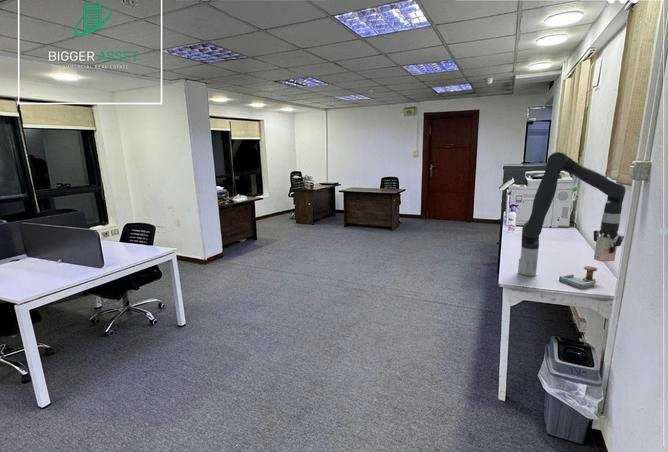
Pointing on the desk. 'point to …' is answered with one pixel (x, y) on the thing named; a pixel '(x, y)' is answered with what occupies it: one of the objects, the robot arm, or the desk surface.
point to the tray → (576, 281)
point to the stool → (589, 273)
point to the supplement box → (604, 250)
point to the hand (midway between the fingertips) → (605, 251)
